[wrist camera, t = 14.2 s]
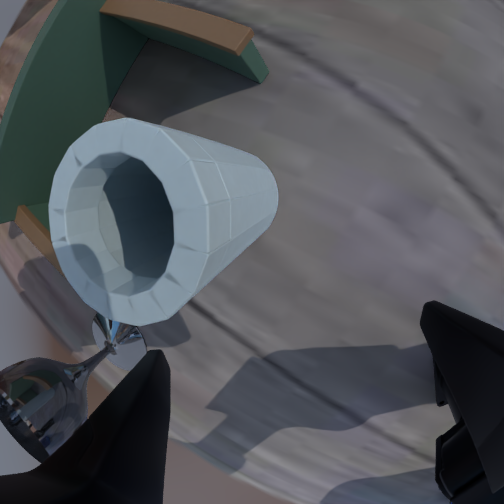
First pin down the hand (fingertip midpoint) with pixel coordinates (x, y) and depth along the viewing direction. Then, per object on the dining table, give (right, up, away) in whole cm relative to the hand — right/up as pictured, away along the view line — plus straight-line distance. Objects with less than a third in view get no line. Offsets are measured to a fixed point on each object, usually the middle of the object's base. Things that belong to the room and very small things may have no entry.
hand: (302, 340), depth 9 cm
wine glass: (-15, -6, +18) cm, 24 cm away
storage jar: (-3, +7, +12) cm, 14 cm away
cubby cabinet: (-11, +12, +12) cm, 20 cm away
